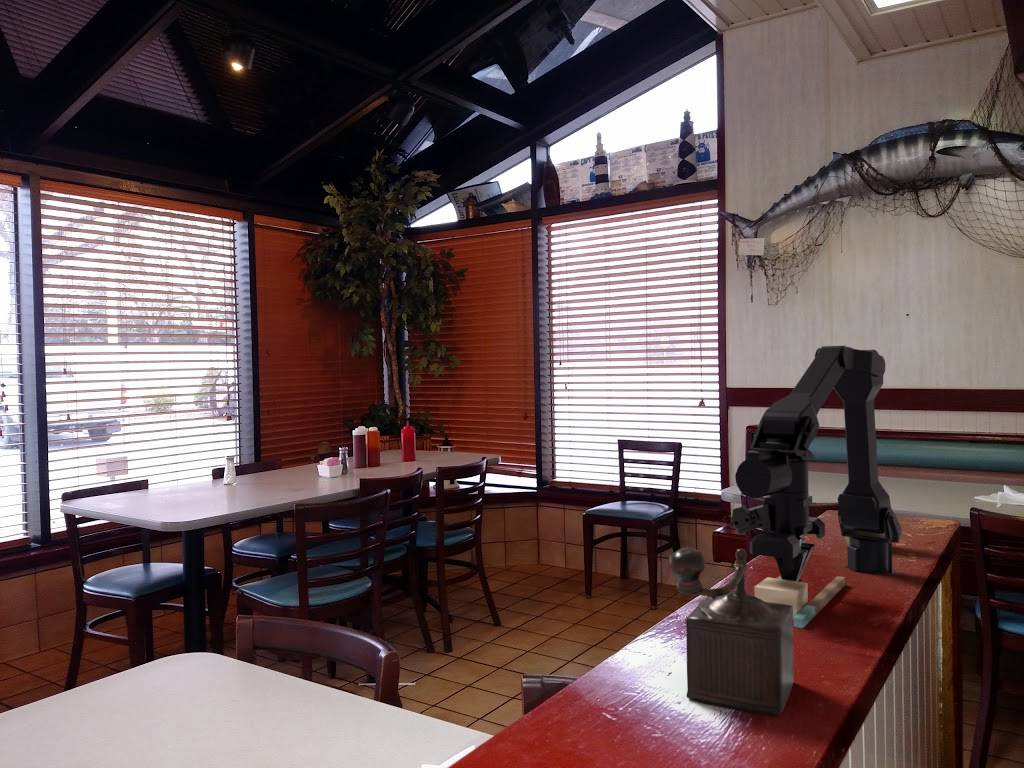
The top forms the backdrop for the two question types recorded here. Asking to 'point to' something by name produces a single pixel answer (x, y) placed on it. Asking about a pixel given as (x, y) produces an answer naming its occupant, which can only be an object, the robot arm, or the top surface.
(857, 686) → the top surface
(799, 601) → the block
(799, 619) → the chute
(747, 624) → the dark manual coffee grinder
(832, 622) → the top surface
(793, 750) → the top surface
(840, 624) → the top surface
